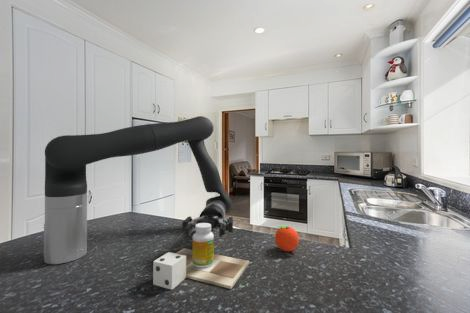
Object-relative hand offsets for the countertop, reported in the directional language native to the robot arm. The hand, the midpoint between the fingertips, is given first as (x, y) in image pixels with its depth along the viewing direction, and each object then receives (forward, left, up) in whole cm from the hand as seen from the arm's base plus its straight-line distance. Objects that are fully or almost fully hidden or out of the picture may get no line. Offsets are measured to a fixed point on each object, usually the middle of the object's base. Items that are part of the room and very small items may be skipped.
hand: (204, 232), depth 56 cm
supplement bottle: (0, -1, -8) cm, 8 cm away
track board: (0, -1, -8) cm, 8 cm away
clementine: (+18, +17, -8) cm, 26 cm away
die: (-3, -9, -8) cm, 13 cm away
